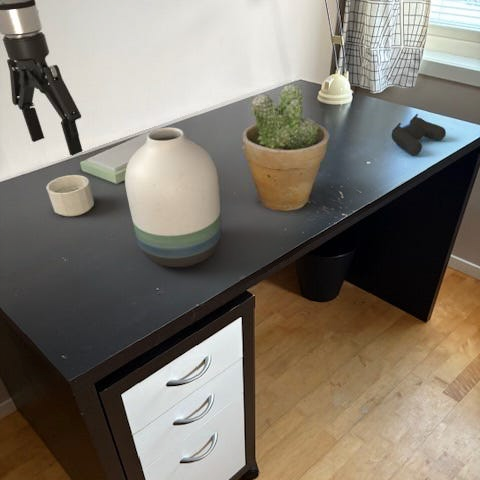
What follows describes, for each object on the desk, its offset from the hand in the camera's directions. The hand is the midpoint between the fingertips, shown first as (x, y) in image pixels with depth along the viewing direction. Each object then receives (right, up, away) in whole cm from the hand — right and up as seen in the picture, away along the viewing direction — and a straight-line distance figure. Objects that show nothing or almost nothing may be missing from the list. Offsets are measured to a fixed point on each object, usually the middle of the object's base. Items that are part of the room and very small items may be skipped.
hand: (56, 146), depth 103 cm
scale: (+11, +7, +30) cm, 32 cm away
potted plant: (+50, -9, +10) cm, 52 cm away
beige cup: (0, -11, +10) cm, 15 cm away
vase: (+28, -24, -5) cm, 37 cm away
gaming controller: (+89, +11, +30) cm, 94 cm away
